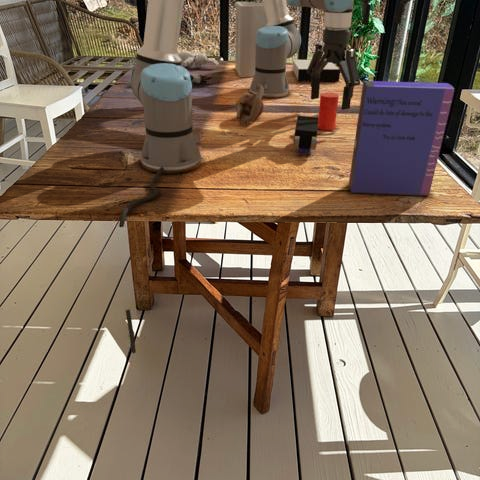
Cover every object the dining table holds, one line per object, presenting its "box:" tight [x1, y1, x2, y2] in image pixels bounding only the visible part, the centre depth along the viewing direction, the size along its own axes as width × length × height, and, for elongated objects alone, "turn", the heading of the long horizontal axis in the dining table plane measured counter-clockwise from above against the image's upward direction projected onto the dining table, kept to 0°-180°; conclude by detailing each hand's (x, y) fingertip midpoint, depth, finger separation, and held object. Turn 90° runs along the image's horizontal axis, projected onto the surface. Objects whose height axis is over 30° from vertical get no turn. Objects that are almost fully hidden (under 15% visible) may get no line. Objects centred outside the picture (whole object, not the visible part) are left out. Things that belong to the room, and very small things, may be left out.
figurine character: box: [292, 115, 319, 156], centre depth 131 cm, size 7×8×15 cm
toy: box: [177, 50, 220, 69], centre depth 224 cm, size 24×25×7 cm
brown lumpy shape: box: [234, 84, 265, 127], centre depth 152 cm, size 13×9×15 cm
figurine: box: [189, 73, 213, 85], centre depth 194 cm, size 24×8×30 cm
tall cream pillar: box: [234, 1, 267, 78], centre depth 210 cm, size 19×15×28 cm
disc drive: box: [292, 59, 341, 83], centre depth 211 cm, size 18×22×5 cm
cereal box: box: [348, 80, 455, 197], centre depth 104 cm, size 17×5×24 cm, turn 86°
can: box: [318, 92, 340, 131], centre depth 147 cm, size 6×6×10 cm
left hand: (329, 103), depth 146 cm, fingers open, 13 cm apart
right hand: (381, 24), depth 171 cm, fingers open, 13 cm apart
